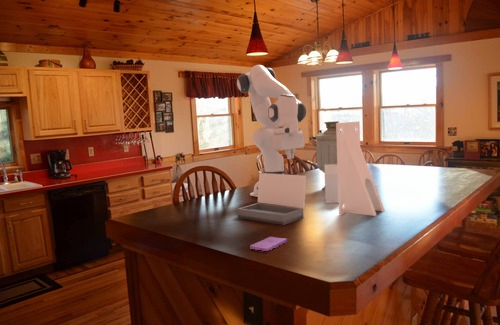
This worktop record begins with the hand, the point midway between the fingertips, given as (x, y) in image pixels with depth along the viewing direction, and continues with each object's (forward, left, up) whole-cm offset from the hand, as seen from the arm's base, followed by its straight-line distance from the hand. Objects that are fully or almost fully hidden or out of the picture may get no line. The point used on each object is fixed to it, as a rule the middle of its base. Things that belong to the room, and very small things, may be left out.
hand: (290, 158), depth 187 cm
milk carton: (+7, +25, -25) cm, 36 cm away
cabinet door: (0, -9, -13) cm, 16 cm away
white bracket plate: (+30, +13, -25) cm, 41 cm away
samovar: (-10, +60, -25) cm, 66 cm away
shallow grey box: (0, -17, -24) cm, 30 cm away
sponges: (+25, -48, -25) cm, 60 cm away
